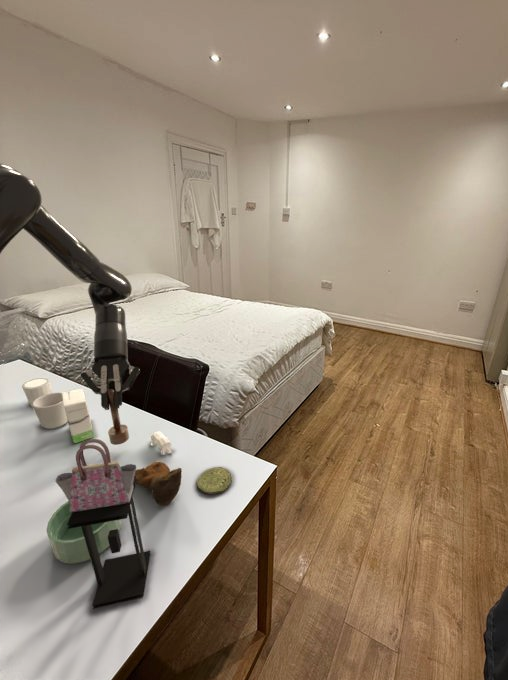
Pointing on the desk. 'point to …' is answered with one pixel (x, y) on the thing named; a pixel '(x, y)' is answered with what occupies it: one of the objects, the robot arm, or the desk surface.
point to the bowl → (75, 536)
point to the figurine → (161, 442)
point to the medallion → (214, 480)
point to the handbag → (103, 506)
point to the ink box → (77, 415)
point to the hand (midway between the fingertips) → (112, 408)
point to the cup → (50, 410)
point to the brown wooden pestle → (116, 423)
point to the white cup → (36, 388)
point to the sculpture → (160, 481)
